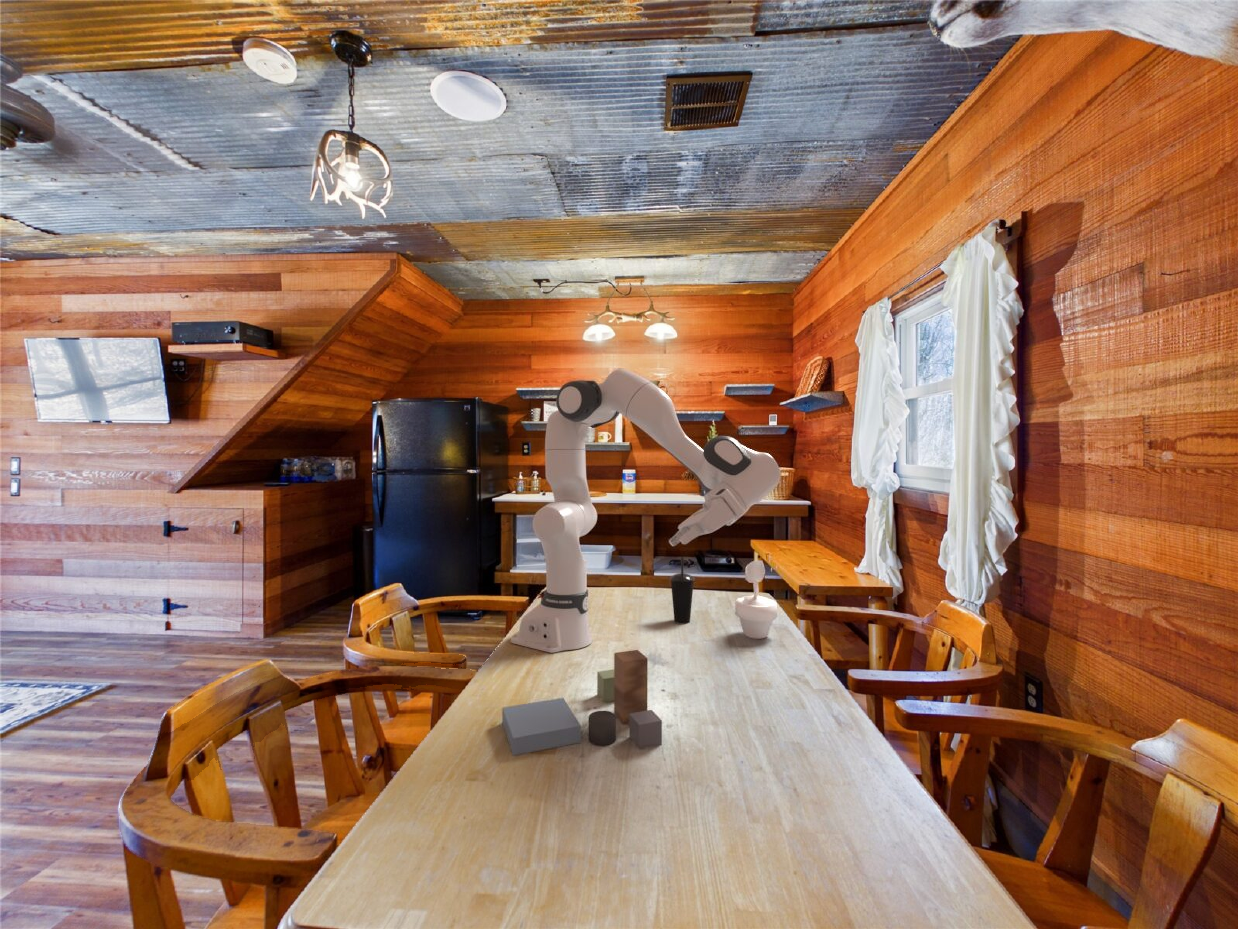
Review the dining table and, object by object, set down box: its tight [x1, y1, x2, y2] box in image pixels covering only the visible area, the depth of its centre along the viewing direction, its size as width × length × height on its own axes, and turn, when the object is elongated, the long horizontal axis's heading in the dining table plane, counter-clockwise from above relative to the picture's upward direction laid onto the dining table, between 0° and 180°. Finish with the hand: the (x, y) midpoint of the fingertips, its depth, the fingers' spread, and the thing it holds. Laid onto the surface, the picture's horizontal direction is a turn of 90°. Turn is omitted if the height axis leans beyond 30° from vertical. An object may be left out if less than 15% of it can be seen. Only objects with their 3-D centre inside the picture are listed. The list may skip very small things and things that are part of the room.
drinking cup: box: [669, 556, 696, 624], centre depth 168 cm, size 8×8×20 cm
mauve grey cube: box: [628, 709, 663, 750], centre depth 97 cm, size 4×4×4 cm
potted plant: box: [734, 554, 779, 640], centre depth 155 cm, size 13×12×25 cm
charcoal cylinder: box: [587, 710, 617, 747], centre depth 98 cm, size 5×5×4 cm
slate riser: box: [501, 697, 582, 756], centre depth 100 cm, size 12×12×3 cm
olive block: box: [596, 668, 614, 704], centre depth 115 cm, size 4×4×5 cm
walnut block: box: [613, 649, 649, 725], centre depth 106 cm, size 5×5×12 cm
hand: (676, 542), depth 120 cm, fingers open, 8 cm apart
